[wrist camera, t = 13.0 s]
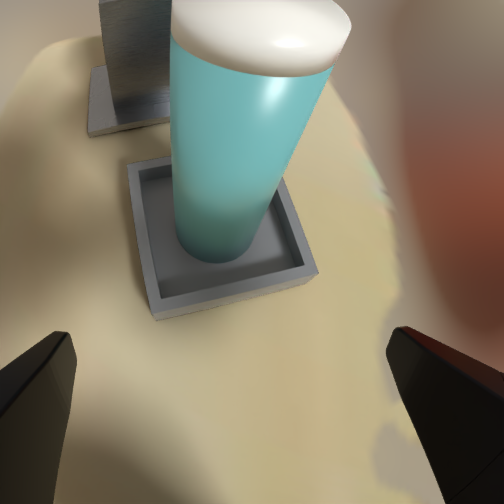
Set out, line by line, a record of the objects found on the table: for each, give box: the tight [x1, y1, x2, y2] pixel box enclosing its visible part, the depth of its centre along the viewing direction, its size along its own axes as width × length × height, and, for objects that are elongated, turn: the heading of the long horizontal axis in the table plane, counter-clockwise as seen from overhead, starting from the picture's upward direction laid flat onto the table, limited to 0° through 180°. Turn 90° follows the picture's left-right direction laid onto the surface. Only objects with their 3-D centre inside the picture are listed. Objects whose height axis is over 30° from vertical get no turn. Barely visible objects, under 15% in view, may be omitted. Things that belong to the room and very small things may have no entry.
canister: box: [170, 0, 351, 264], centre depth 12 cm, size 4×4×13 cm
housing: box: [88, 0, 172, 138], centre depth 18 cm, size 8×14×10 cm, turn 107°
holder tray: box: [127, 156, 319, 321], centre depth 18 cm, size 9×9×2 cm
